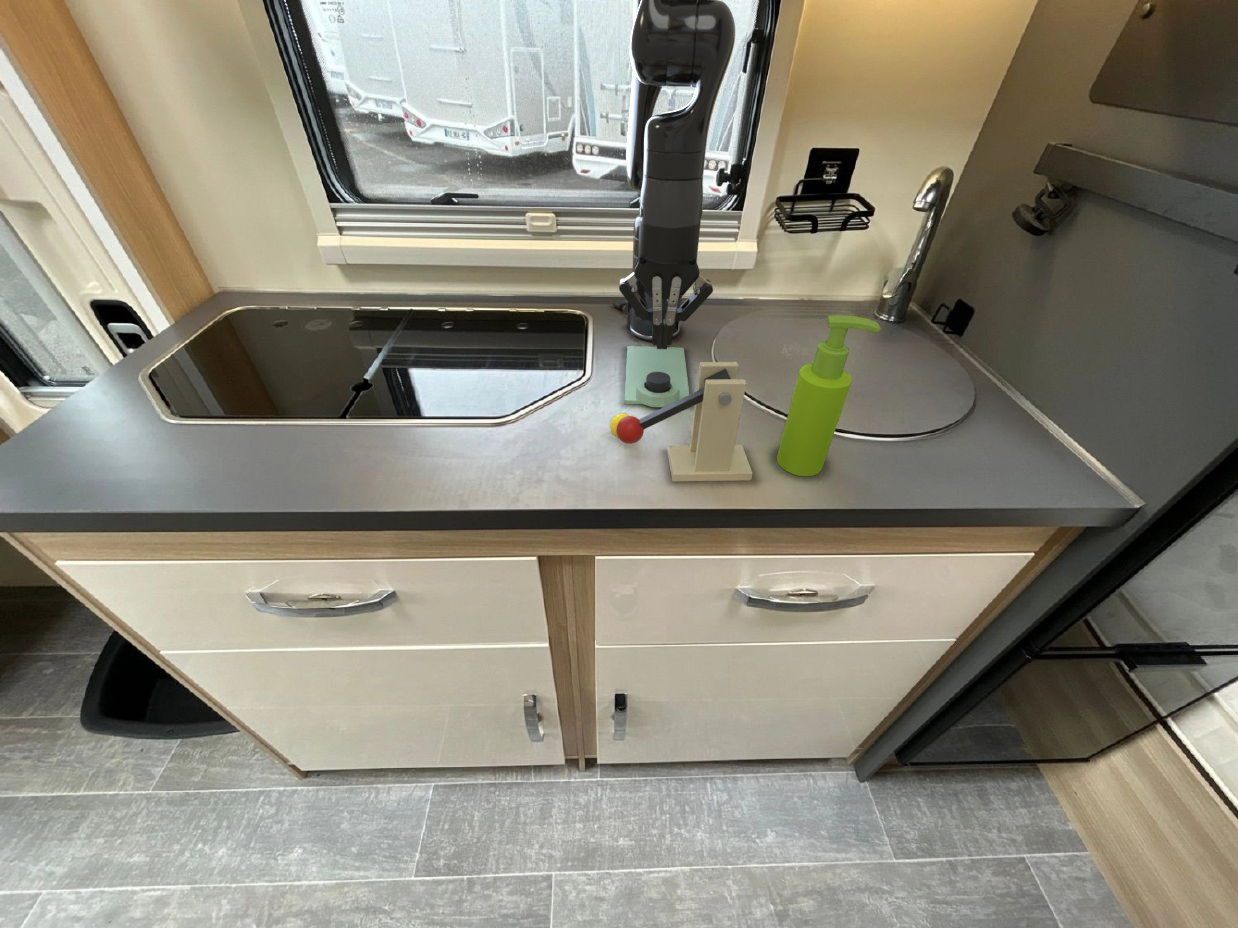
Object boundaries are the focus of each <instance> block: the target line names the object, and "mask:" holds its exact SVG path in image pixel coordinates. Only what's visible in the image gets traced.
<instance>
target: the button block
mask: <svg viewBox="0 0 1238 928" xmlns="http://www.w3.org/2000/svg"><path fill="white" fill-rule="evenodd" d="M685 356H686V355H685V349H684V347H672V346H667V350H664V349H657V346H637V345H636V346H634V345H627V347H626V366H625V384H624V398H623V399H624V401H623V402H624V404H625V405H629V404H630V405H645V406H648V407H650V408H663V407H665V406H668V405H670V404H672V403H674V402H676V401H678V400H680V399H682V398H684V397H686V396H688V395H690V388H689V387H690V386H689V379H688V372H687V363H686V357H685ZM652 372H663V373H666V374H668V375H669V376H670V378H671V379H670V389H669V390H668V391H667V392H664V393H654V392H651V391H648V390H647V389H646V377H647V375H648V374H649V373H652Z"/></svg>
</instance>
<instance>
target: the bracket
mask: <svg viewBox="0 0 1238 928" xmlns="http://www.w3.org/2000/svg"><path fill="white" fill-rule="evenodd" d="M739 366H740V365H739V363H738V362H737V361H700V362H699V367H698V375H697V383H696V390H695V392H696V391H698V390H700V389H702V388H704V387H705V389H704V396H703V401H702V402H700V403H698V404H696V405H694V406H693V415H692V423H691V431H690V438H689V445H688V444H687V445H685V444H683V445H667V449H666V451H667V458H668V465H669V470H670V475H671V480H672V483H673V482H676V483H677V482H678V483H679V482H729V481H732V482H734V481H735V482H737V481H738V482H739V481H752V478H753V470H752V468H751V465H750V462H749V460H748V457H747V455H746V452H745V449H744V447H743V444H736V441H737V440H736V439H737V434H738V429H739V425H740V419H741V414H742V410H743V409H742V408H743V403H744V398H745V392H746V387H747V381H746V380H745V378H741V379H740V378H739V379H738V378H737V377H738V371H739ZM724 369H726V370H727V372H728V374H729V376H730V378H731V379H718V380H706V381H705V382H704V379H705V378H707V377H709V376H711V375H713V374H715V373H717V372H719V371H721V370H724Z"/></svg>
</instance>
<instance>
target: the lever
mask: <svg viewBox="0 0 1238 928" xmlns="http://www.w3.org/2000/svg"><path fill="white" fill-rule="evenodd" d="M718 379H731V378H730V376H729V374H728V372H727V370H726V369H724V370H721V371H719V372H717V373H715V374H713V375H711V376H709V377H707V378H705V379H704V382H705V381H706V380H718ZM704 389H705V387H704V388H702V389H700V390H698V391H696V390H695V392H692V393H689V395H688V396H686V397H684V398H682V399H680V400H678V401H676V402H674V403H672V404H670V405H668V406H665V407H660V409H657V410H656V411H653V412H652V413H649V414H647V415H645V416H643V417H641V418H638V417H636V416H633V415H629V416H627V417H624V418H622V419H621V420H620V421H619V422H618V424H617V427H616V433H617V436H618V440H619V441H621V442H622V443H624V444H627V445H631V444H632V445H634V444H636V443H638V442H639V441H640V440H641V439H642V438H643V436H644V432H645V430H646V429H648V428H650V427H653V426H655V425H656V424H659V423H660V422H663V421H665V420H667V419H669V418H671V417H673V416H675V415H677V414H680V413H681V412H683V411H685V410H689V408H692V407H694V406H695V405H696V404H698V403H700V402H702V401H703V396H704Z"/></svg>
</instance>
